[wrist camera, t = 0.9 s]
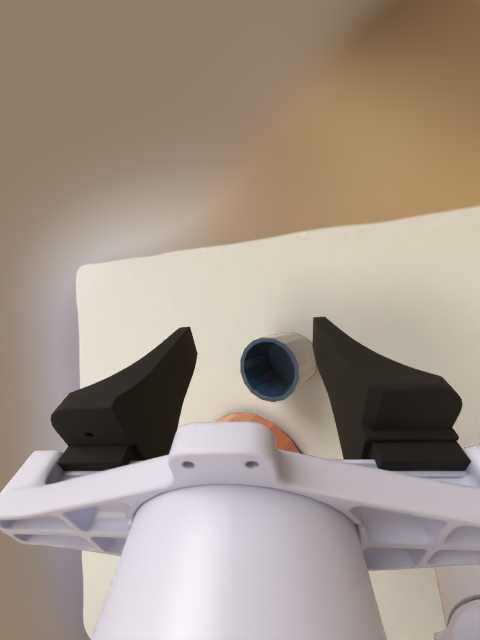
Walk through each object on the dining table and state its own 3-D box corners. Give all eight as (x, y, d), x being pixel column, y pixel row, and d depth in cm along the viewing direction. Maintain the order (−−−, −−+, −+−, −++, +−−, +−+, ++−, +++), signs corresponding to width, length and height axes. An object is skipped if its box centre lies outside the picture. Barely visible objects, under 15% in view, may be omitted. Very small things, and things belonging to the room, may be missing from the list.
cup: (326, 376, 26) (309, 394, 20) (278, 388, 28) (252, 406, 23) (305, 325, 27) (284, 328, 21) (261, 341, 29) (232, 348, 24)
